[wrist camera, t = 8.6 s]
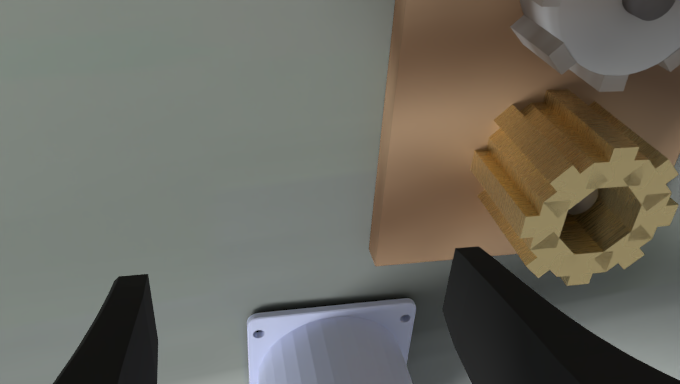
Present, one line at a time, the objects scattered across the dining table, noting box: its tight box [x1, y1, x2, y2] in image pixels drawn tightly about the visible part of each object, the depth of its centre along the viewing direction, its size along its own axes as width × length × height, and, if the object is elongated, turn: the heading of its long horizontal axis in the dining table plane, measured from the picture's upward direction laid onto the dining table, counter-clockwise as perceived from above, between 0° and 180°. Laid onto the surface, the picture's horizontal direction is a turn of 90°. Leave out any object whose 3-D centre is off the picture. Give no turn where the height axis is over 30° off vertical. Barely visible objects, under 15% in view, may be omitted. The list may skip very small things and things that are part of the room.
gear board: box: [369, 0, 680, 266], centre depth 21 cm, size 18×13×5 cm
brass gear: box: [471, 89, 679, 286], centre depth 23 cm, size 6×6×4 cm
